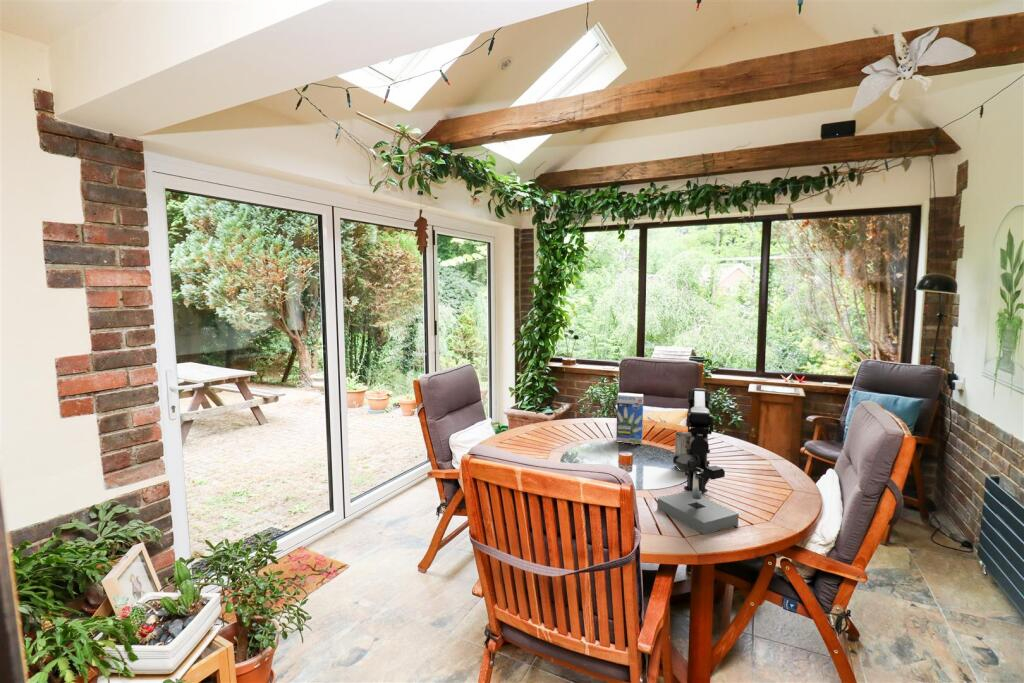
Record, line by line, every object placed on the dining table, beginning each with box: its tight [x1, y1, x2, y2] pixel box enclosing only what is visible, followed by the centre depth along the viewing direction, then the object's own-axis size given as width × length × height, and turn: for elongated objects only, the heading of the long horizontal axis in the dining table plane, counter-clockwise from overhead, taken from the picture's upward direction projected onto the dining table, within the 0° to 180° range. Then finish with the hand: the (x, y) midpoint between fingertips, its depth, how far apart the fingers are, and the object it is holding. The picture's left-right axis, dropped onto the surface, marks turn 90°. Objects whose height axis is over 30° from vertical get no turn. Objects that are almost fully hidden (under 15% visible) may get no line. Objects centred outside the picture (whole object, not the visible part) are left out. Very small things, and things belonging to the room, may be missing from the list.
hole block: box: [656, 490, 740, 535], centre depth 177 cm, size 22×16×4 cm
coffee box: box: [674, 431, 690, 470], centre depth 225 cm, size 9×6×16 cm
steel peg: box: [692, 471, 703, 499], centre depth 176 cm, size 3×3×9 cm
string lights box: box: [615, 392, 644, 444], centre depth 264 cm, size 13×8×26 cm, turn 73°
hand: (697, 489), depth 176 cm, fingers closed on steel peg, 3 cm apart
